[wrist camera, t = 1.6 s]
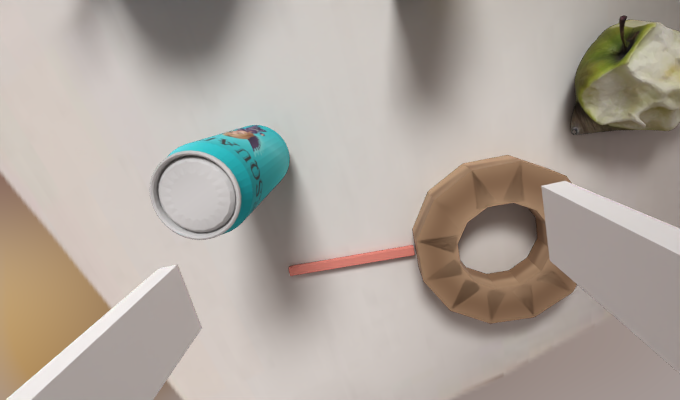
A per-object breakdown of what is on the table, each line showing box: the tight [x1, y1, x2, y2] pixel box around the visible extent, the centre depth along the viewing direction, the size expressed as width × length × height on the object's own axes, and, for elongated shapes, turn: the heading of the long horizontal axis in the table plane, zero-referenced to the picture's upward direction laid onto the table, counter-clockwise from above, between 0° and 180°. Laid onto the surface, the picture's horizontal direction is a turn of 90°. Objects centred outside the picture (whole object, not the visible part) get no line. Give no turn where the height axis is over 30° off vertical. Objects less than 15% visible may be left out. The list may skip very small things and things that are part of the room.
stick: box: [289, 245, 415, 276], centre depth 37 cm, size 1×13×1 cm, turn 103°
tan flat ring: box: [412, 155, 577, 323], centre depth 35 cm, size 15×15×3 cm
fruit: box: [571, 16, 680, 135], centre depth 29 cm, size 9×9×8 cm
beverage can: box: [150, 125, 290, 240], centre depth 28 cm, size 6×6×15 cm
